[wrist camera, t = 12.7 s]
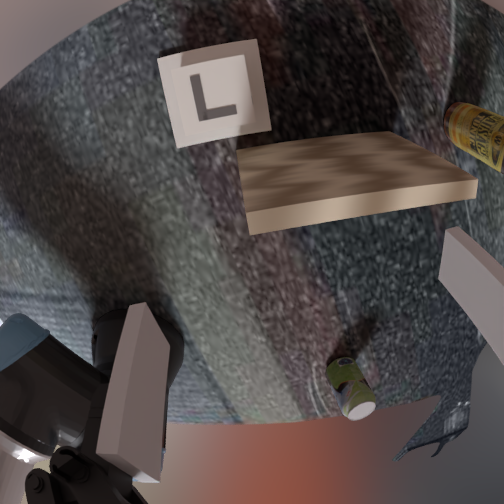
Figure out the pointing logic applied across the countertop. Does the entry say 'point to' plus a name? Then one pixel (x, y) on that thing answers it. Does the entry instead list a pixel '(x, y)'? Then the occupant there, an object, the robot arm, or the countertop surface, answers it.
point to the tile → (207, 54)
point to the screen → (343, 179)
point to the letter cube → (213, 95)
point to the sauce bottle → (476, 133)
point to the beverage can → (350, 388)
